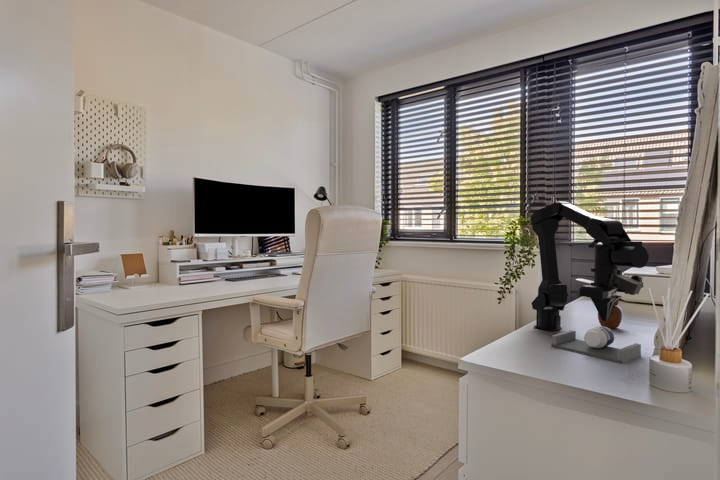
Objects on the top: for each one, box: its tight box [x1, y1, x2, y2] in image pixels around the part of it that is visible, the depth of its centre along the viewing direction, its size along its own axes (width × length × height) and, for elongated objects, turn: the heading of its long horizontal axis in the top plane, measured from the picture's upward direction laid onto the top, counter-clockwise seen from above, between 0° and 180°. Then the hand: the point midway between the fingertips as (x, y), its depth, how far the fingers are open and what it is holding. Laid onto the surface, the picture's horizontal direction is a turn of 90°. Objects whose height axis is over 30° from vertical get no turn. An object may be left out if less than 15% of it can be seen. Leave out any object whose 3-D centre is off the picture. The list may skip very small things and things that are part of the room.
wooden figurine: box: [597, 292, 623, 330], centre depth 137 cm, size 7×6×15 cm
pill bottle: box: [583, 325, 615, 348], centre depth 110 cm, size 5×5×10 cm
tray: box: [550, 329, 642, 364], centre depth 110 cm, size 18×11×3 cm, turn 35°
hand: (604, 320), depth 113 cm, fingers closed
